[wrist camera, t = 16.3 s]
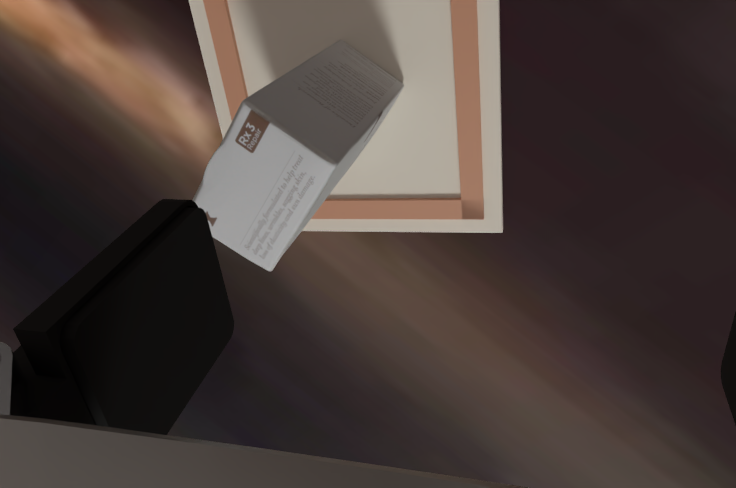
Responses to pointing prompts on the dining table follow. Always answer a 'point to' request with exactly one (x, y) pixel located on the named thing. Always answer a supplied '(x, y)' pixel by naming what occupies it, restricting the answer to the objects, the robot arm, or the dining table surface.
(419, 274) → the dining table surface
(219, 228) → the skincare box
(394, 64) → the white square board
